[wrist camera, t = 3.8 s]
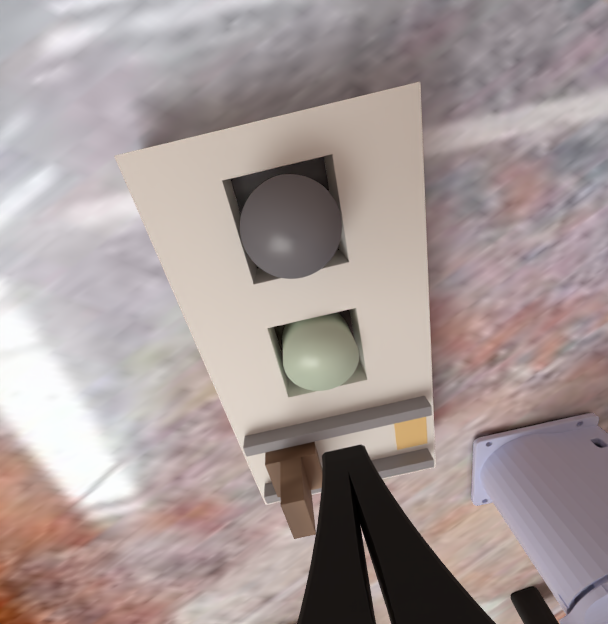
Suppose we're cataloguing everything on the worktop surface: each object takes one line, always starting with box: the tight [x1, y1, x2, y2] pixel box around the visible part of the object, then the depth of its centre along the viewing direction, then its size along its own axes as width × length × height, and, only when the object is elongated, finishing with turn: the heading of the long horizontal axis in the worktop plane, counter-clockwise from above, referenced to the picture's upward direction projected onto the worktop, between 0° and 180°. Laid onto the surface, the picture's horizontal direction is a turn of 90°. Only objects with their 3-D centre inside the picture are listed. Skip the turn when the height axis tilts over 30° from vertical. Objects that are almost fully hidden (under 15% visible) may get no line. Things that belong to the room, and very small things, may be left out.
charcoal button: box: [240, 174, 342, 279], centre depth 13 cm, size 4×4×2 cm
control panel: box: [114, 82, 436, 505], centre depth 17 cm, size 12×22×3 cm, turn 12°
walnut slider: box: [265, 442, 322, 539], centre depth 17 cm, size 3×3×4 cm
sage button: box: [282, 312, 359, 391], centre depth 17 cm, size 4×4×2 cm
